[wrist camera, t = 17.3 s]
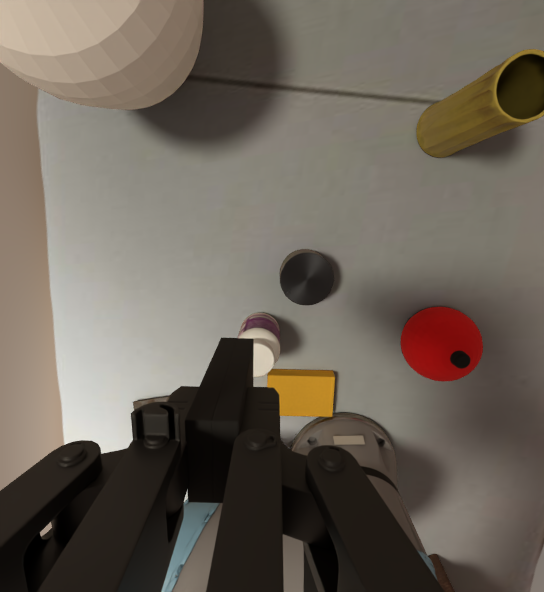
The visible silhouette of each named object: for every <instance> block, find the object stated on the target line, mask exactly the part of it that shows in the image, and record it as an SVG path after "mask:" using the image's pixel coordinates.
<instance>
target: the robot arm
mask: <svg viewBox="0 0 544 592" xmlns="http://www.w3.org/2000/svg"><path fill="white" fill-rule="evenodd" d="M253 356H254V339H253V338H221V340H220V342H219V344H218V346H217V349H216V351H215V353H214V355H213V358H212V360H211V362H210V364H209V367H208V369H207V371H206V373H205V376H204V378H203V380H202V382H201V385H200V387H188V386H181V387H180V388H178V389H177V390H176V391H174V392H173V393H172V394H171V396H170V397H169V399H168V401H167V402H152V403H149V404H145V405H143V406H141V407H139V408H137V409H135V410H134V411H133V412H132V413H131V420H132V432H133V441H132V442H131V444H130V446H129V447H128V448H127V449H123V450H119V451H114V452H109V453H103V454H101V450H100V447H99V445H98V444H97V443H95V442H93V441H83V440H82V441H75V442H71V443H68V444H66V445H63V446H61V447H59V448H58V449H56V450H54V451H52V452H51V453H50V454H48V455H47V456H46V457H44V458H43V459H42V460H40V461H39V462H38V463H36V464H35V465H34V466H33V467H31V468H30V469H29V470H27V471H26V472H25V473H23V474H22V475H21V476H19V477H18V478H17V479H16V480H14V481H13V482H11V483H10V484H9V485H8V486H6V487H5V488H4V489H2V490H1V491H0V592H445V591H444V590H443V588H442V587H441V585H440V584H439V582H438V580H437V577H436V575H435V569H434V566H433V563H432V561H431V560H430V558H429V557H428V556H427V554H426V552H425V549H424V547H423V545H422V543H421V540H420V538H419V536H418V534H417V532H416V529H415V527H414V525H413V523H412V521H411V518H410V516H409V514H408V512H407V510H406V507H405V505H404V503H403V501H402V499H401V497H400V494H399V492H398V488H397V461H396V456H395V452H394V449H393V446H392V444H391V442H390V440H389V438H388V436H387V435H386V433H385V432H384V431H383V430H382V428H381V427H380V426H378V425H377V424H376V423H375V422H373V421H372V420H370V419H368V418H366V417H363V416H361V415H357V414H352V413H334V414H332V417H320V418H317V419H315V420H313V421H312V422H310V423H309V424H307V425H306V426H305V427H304V428H303V429H302V430H301V431H300V432H299V433H298V435H297V436H296V438H295V439H294V441H293V443H292V446H291V449H288V448H287V447H286V446H285V445H284V444H283V442H282V441H281V437H280V404H279V403H280V402H279V393H278V392H277V391H276V390H275V388H273V387H253ZM187 489H188V499H187V500H186V501H185V503H184V498H185V495H186V492H187ZM50 522H51V524H52V528H51V529H50V530H49V531H48V532H47V533H46V534H45V535H43V536H42V537H41V536H40V532H41V531H42V530H43V529H44V528H45V527H46V526H47V525H48V524H49V523H50Z"/></svg>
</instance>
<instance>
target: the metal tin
mask: <svg viewBox="0 0 544 592" xmlns="http://www.w3.org/2000/svg"><path fill="white" fill-rule="evenodd" d="M333 283H334V274H333V270H332V267H331V265H330V264H329V262H328V261H327V260H326V259H325V258H324V257H322V256H321V255H320V254H319V253H317V252H315V251H313V250H309V249H301V250H297V251H294V252H292V253H291V254H289V255H288V256H287V257H286V258H285V260H284V261H283V263H282V265H281V268H280V284H281V288H282V290H283V292H284V294H285V295H286V296H287V297H288V298H289V299H290V300H291V301H293V302H295V303H297V304H300V305H313V304H316V303H319V302H320V301H322V300H323V299H325V298H326V297H327V296H328V294H329V293H330V291H331V289H332V287H333Z"/></svg>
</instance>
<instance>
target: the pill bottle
mask: <svg viewBox="0 0 544 592" xmlns="http://www.w3.org/2000/svg"><path fill="white" fill-rule="evenodd" d="M238 338H253V339H254V356H253V377H260V376H263V375H266V374H267V373H269V372H270V371H271V369H272V368H273V365H274V364H275V363H276V362H277V360H278V358H279V355H280V329H279V325H278V323H277V321H276V320H275V319H274V318H273V317H272V316H270V315H268V314H266V313H254V314H252V315H250V316H248V317H247V318H246V319H245V320H244V322H243V323H242V326H241V329H240V331H239V335H238Z"/></svg>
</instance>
